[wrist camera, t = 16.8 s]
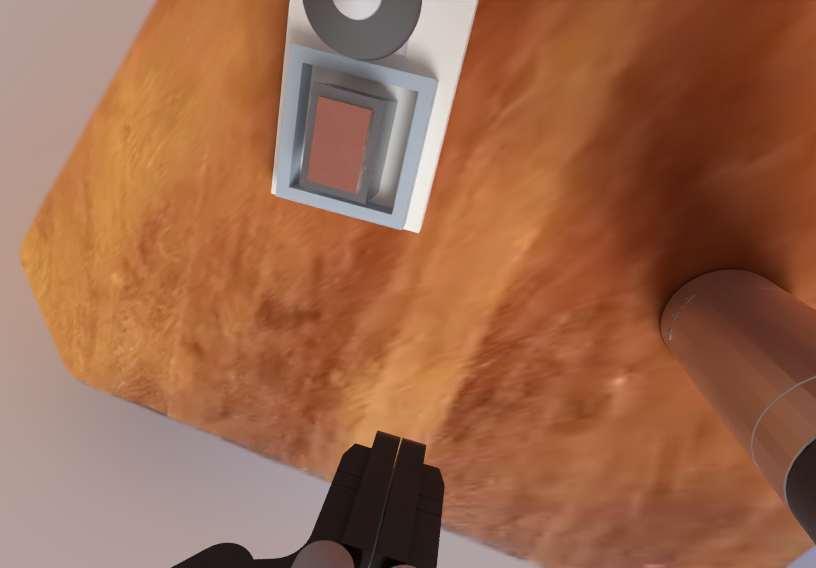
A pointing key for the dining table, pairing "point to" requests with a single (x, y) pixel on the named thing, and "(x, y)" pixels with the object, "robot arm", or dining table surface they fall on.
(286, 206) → the dining table surface
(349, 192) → the copper topped block
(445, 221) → the dining table surface
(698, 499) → the dining table surface
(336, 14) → the wheel
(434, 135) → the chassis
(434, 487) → the robot arm
